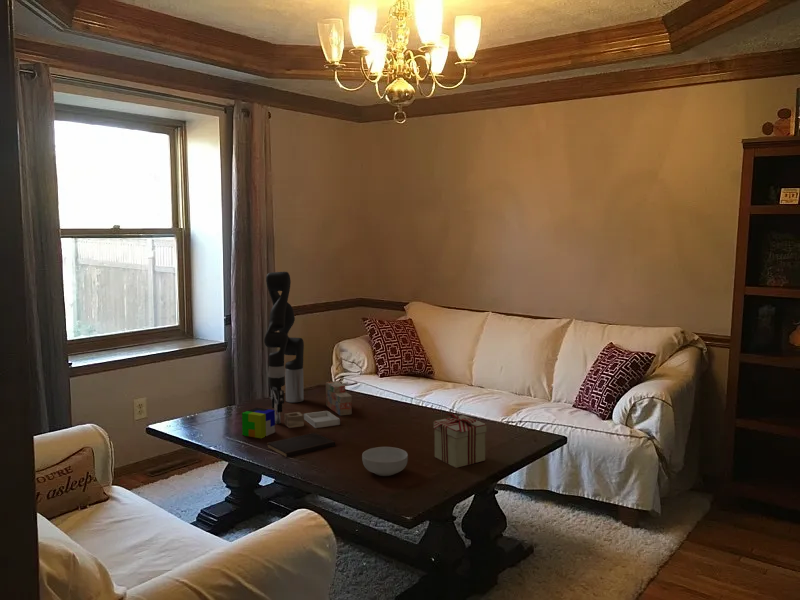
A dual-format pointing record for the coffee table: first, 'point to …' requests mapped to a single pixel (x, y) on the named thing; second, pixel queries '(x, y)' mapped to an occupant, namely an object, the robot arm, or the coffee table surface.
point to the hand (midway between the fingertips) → (277, 409)
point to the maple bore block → (294, 419)
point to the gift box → (459, 440)
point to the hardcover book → (300, 444)
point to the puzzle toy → (258, 422)
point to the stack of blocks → (338, 398)
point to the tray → (321, 419)
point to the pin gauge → (276, 413)
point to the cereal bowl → (385, 460)
